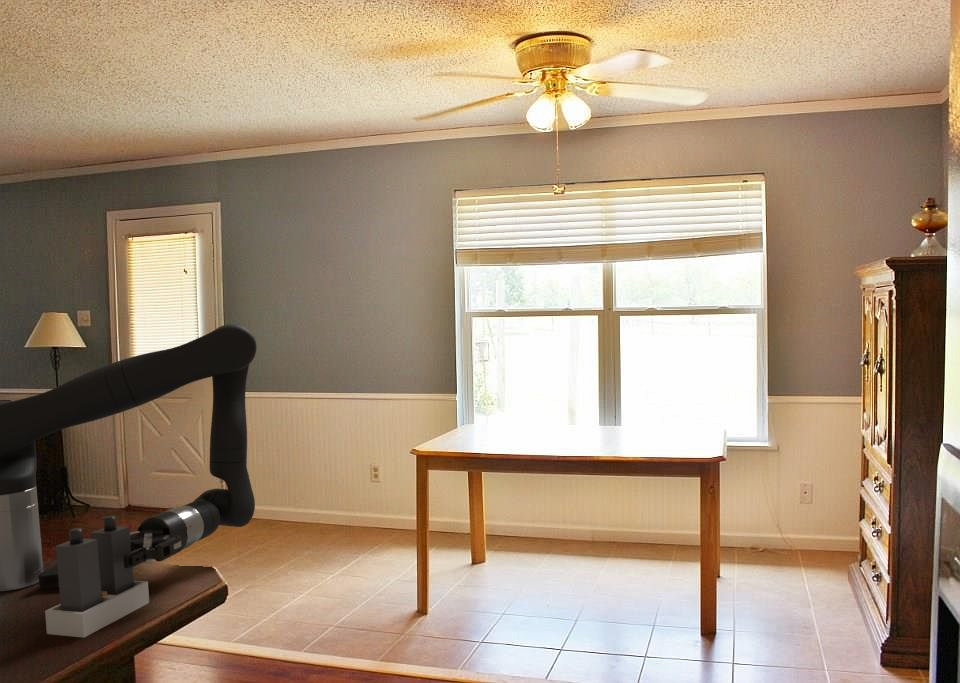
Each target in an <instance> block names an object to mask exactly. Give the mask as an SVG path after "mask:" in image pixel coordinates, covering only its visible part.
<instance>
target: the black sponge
mask: <svg viewBox="0 0 960 683" xmlns="http://www.w3.org/2000/svg"><path fill="white" fill-rule="evenodd" d="M38 578H39V582H38V586H39V588H40V590H43V591H44V590H45V591H46V590H49V589H55V588H59V579H58V566H57V564H56V565H54V566H52V567H50V568H48V569H46V570H43V572H42V573H40V574H38Z"/></svg>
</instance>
